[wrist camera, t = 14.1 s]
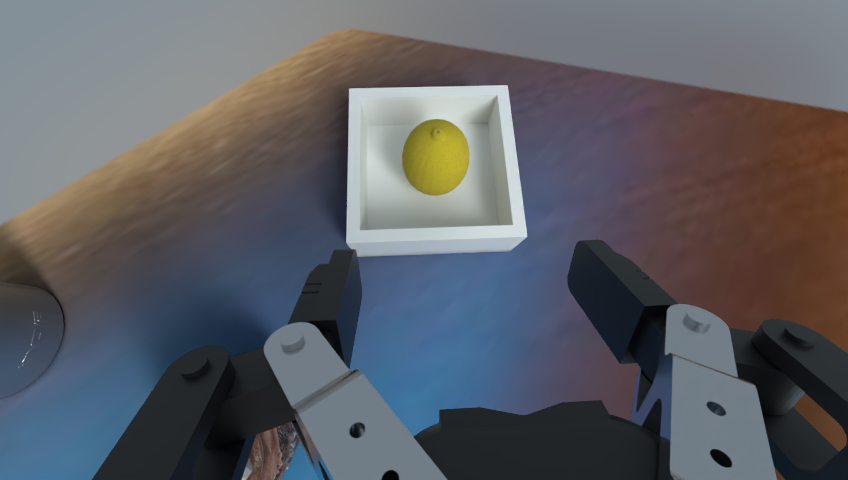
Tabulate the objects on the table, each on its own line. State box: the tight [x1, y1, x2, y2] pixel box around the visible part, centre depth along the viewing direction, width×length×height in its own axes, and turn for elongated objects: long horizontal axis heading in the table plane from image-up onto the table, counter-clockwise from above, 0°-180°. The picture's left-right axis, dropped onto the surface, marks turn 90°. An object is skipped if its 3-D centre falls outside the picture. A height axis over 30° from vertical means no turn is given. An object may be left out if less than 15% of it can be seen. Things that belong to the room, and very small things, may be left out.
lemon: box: [402, 119, 469, 196], centre depth 27 cm, size 6×6×8 cm
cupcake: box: [242, 422, 299, 480], centre depth 21 cm, size 10×10×10 cm
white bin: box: [346, 85, 527, 257], centre depth 29 cm, size 14×14×5 cm
